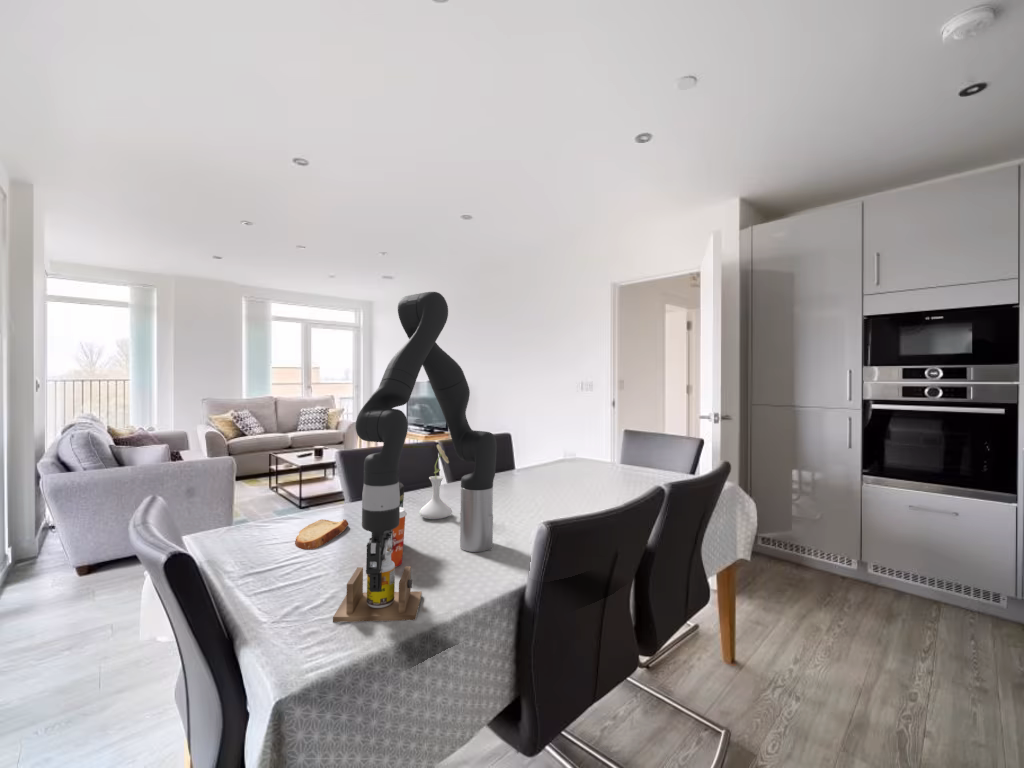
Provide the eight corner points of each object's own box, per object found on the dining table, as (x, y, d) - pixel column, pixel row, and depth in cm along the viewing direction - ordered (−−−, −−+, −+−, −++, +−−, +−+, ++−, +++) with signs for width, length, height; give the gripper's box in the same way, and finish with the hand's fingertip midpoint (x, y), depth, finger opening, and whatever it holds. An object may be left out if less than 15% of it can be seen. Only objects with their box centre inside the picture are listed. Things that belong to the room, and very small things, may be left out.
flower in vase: (449, 522, 150) (450, 448, 150) (415, 521, 150) (416, 447, 150) (455, 511, 163) (455, 442, 163) (423, 510, 164) (424, 442, 163)
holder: (421, 595, 99) (421, 564, 99) (415, 619, 89) (415, 584, 89) (347, 597, 98) (347, 565, 98) (332, 622, 88) (333, 586, 88)
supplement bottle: (361, 607, 92) (361, 557, 92) (375, 595, 97) (376, 548, 97) (385, 611, 90) (386, 560, 90) (399, 598, 96) (399, 550, 96)
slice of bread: (302, 553, 124) (302, 539, 124) (282, 535, 137) (283, 523, 137) (364, 538, 136) (364, 525, 136) (341, 523, 149) (341, 512, 149)
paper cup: (390, 572, 111) (390, 515, 111) (369, 565, 115) (369, 510, 115) (412, 561, 118) (413, 508, 118) (392, 555, 122) (392, 503, 122)
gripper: (393, 514, 87) (392, 597, 87) (404, 495, 101) (404, 567, 101) (353, 514, 86) (352, 598, 86) (370, 495, 100) (369, 567, 100)
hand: (380, 581), depth 94 cm, fingers open, 8 cm apart
